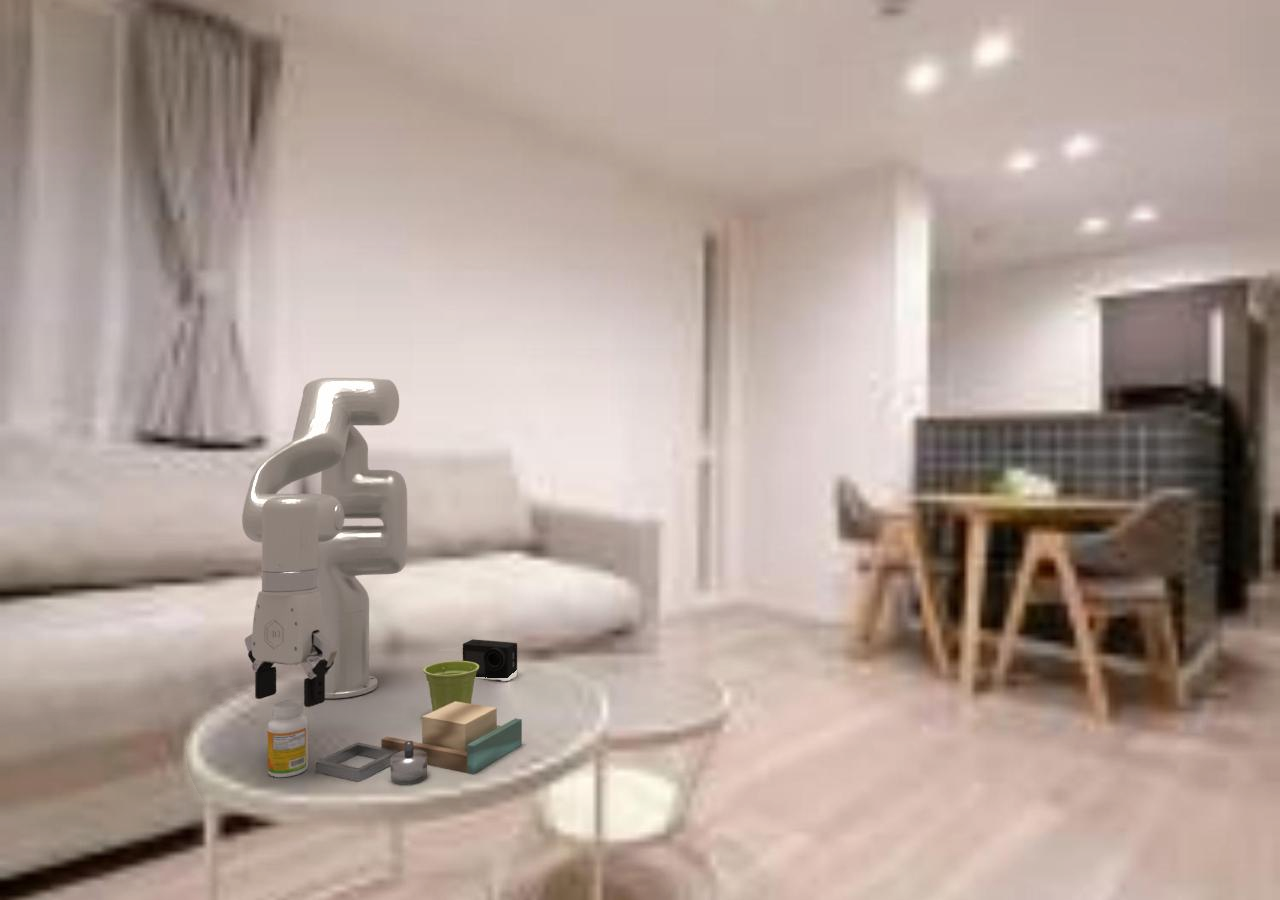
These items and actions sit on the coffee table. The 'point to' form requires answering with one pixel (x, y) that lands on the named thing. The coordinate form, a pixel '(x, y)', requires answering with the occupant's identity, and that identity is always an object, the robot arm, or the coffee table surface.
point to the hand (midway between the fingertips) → (289, 700)
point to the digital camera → (491, 657)
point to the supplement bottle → (287, 739)
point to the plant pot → (450, 682)
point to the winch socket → (377, 763)
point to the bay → (463, 737)
